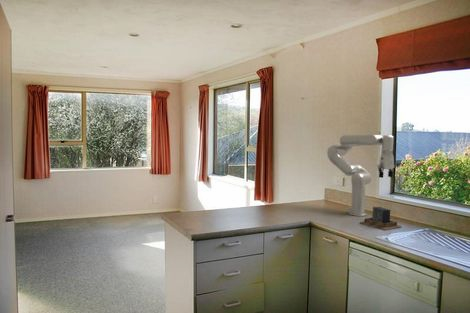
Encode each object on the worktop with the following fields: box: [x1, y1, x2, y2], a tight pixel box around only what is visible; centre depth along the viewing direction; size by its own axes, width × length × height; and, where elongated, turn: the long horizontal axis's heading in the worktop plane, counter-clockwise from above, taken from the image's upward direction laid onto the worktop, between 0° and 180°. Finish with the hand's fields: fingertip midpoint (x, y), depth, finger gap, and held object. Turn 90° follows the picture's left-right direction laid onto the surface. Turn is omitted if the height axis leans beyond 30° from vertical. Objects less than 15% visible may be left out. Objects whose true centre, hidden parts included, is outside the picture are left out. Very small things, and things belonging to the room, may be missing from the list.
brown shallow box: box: [359, 217, 402, 231], centre depth 252 cm, size 20×16×4 cm
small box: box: [371, 206, 391, 223], centre depth 252 cm, size 11×6×10 cm, turn 17°
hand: (385, 177), depth 268 cm, fingers open, 9 cm apart
